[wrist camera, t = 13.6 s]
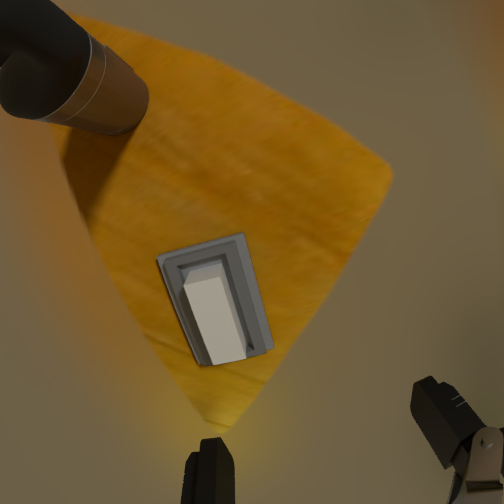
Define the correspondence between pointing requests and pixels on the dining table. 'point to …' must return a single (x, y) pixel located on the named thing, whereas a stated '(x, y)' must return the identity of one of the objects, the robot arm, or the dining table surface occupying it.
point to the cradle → (240, 283)
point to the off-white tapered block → (216, 314)
